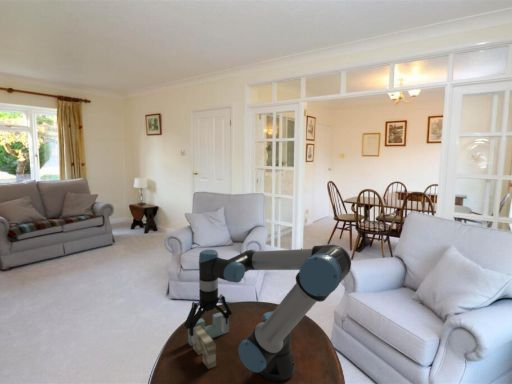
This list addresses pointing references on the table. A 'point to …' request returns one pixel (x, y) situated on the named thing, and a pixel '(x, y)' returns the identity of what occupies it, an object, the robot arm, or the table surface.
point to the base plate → (211, 327)
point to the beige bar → (205, 347)
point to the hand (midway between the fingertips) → (209, 336)
